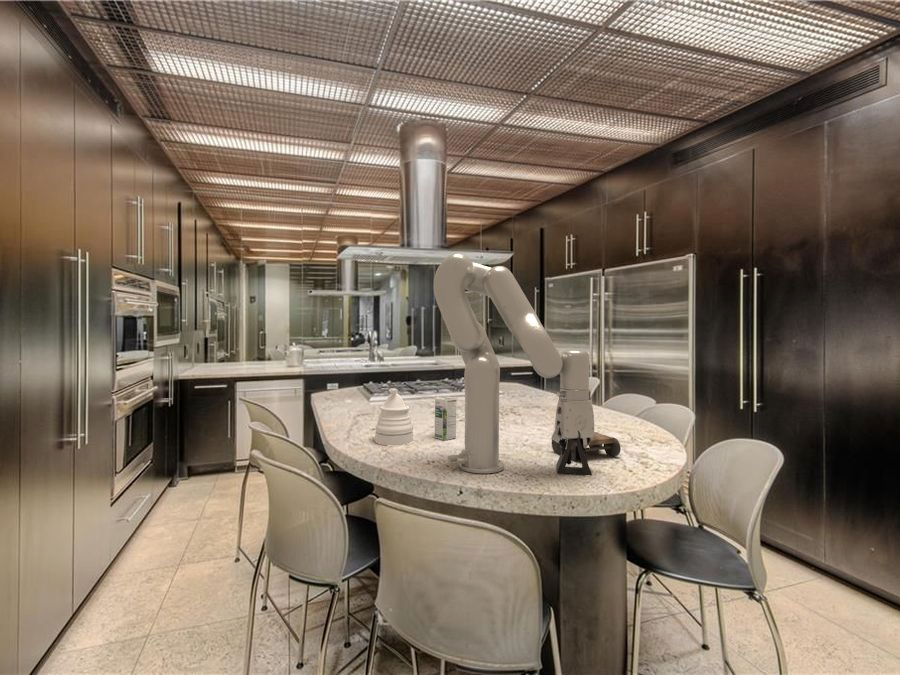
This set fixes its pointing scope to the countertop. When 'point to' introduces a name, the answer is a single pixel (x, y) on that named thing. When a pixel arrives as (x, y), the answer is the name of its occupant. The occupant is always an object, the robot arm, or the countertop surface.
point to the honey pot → (394, 422)
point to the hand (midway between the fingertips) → (573, 461)
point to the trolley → (593, 444)
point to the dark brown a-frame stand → (563, 459)
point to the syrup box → (445, 418)
